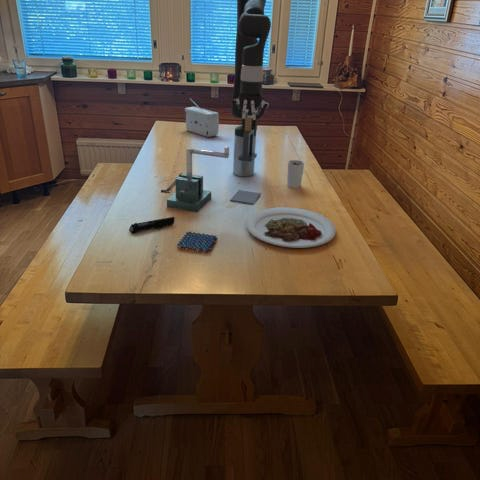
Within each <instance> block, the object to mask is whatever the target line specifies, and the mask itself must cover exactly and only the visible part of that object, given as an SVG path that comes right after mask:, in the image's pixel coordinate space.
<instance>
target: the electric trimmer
mask: <svg viewBox="0 0 480 480" xmlns="http://www.w3.org/2000/svg"><path fill="white" fill-rule="evenodd" d="M174 224H175V216H170V217H165V218H159V219H154V220H148V221H143V222H134V223H132V224H131V225H130V227H129V229H128V231H129V232H130V233H131V235H133V234H137V233H139V232H143V231H148V230H153V229H157V230H158V229H162V228H166V227H168V226H171V225H174Z"/></svg>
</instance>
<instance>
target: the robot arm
mask: <svg viewBox="0 0 480 480" xmlns="http://www.w3.org/2000/svg"><path fill="white" fill-rule="evenodd" d="M266 3H267V0H236V11H237V12H236V35H235V36H236V37H235V49H234V52H235V53H234V55H235V56H234V79H233V80H234V82H233V90H232V97H231V98H232V99H231V113H232V116H233V117H234V118H236V119H241V121H242V122H241V125H238V126H236V127H235V128H234V142H233V145H234V146H233V169H232V171H233V172H232V173H233V174H234V175H235V176H239V177H251V176H253V175H254V174H255V162H256V160H255V159H256V158H255V159H254V160H253V161H252V162H248V161H241V160H238V159H239V156H240V155H241V154H242V153H243V136H244V132H245V117H246V116H252V119H253V120H252V130H254V143H253V153H256V144H257V142H256V141H257V130H258V123H259V122H258V120H259V119H261V118H263V116H264V115H265V113H266V111H267V109H268V107H269V105H270V102H266V101H265V100H263V99H264V98H263V97H262V95H263V94H262V93H263V81H264V78H263V76H264V69H263V67H264V66H263V65H264V55H265V53H264V51H265V47H266V44H267V40H268V37H269V35H270V34H269V33H270V32H271V28H272V26H271V25H272V22H271V19H270V17H269V16H268V15H266V14H265V6H266ZM260 105H261V109H260Z"/></svg>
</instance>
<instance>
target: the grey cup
mask: <svg viewBox="0 0 480 480" xmlns="http://www.w3.org/2000/svg"><path fill="white" fill-rule="evenodd" d="M304 166H305V162H304V161H302V160H299V159H292V160H288V161H287V176H286V177H287V178H286V179H287V181H286V183H287V184H286V185H287V187H288V188H292V189H299V188H301V185H302V181H303V180H302V179H303V175H304V174H303V173H304V168H305V167H304ZM298 187H299V188H298Z"/></svg>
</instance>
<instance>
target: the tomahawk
mask: <svg viewBox="0 0 480 480" xmlns="http://www.w3.org/2000/svg"><path fill="white" fill-rule="evenodd" d="M181 174H183V172H181V173H179V174H178V177H180V175H181ZM175 184H176V181H175V180H173V182H172V183H171V184H170V185H169V186H168V187H167V188H166V189H161V190H160V192H161V193H165V194H170V193H173V192H172V189H173V188H174V187H175V186H176V185H175ZM174 185H175V186H174ZM173 186H174V187H173ZM172 187H173V188H172ZM171 188H172V189H171ZM170 190H171V192H169V191H170Z"/></svg>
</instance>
